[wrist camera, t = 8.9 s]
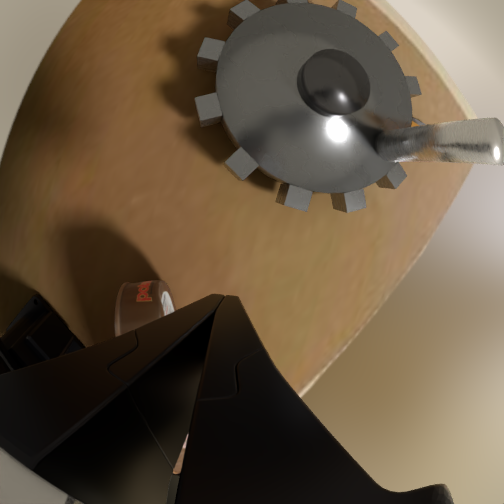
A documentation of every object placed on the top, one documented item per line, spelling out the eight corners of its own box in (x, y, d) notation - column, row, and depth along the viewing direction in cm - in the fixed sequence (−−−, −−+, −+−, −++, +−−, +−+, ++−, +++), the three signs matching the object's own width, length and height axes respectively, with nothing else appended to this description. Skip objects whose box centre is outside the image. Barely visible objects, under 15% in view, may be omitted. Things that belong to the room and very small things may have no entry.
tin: (131, 265, 18) (89, 323, 10) (175, 259, 19) (157, 317, 11) (176, 417, 22) (174, 491, 14) (209, 415, 23) (216, 489, 15)
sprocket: (381, 235, 19) (496, 284, 9) (164, 173, 16) (102, 168, 6) (416, 61, 16) (513, 29, 6) (236, -19, 13) (266, -121, 3)
